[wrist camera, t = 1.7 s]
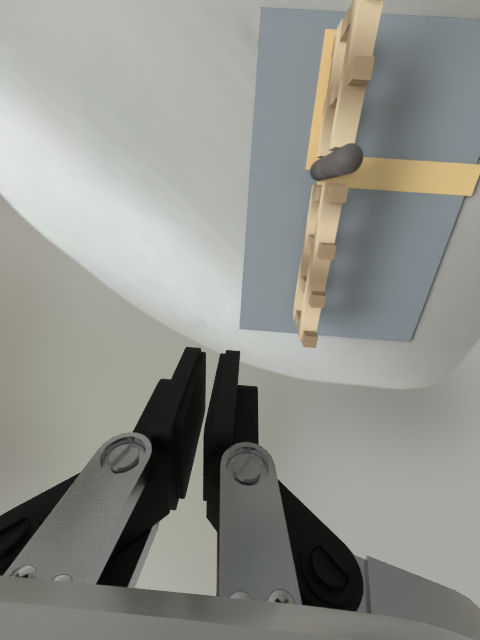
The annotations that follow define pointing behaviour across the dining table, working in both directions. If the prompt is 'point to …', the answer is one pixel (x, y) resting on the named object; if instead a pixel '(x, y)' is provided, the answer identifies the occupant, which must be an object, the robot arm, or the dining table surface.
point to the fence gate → (317, 257)
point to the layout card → (361, 169)
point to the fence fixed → (347, 90)
